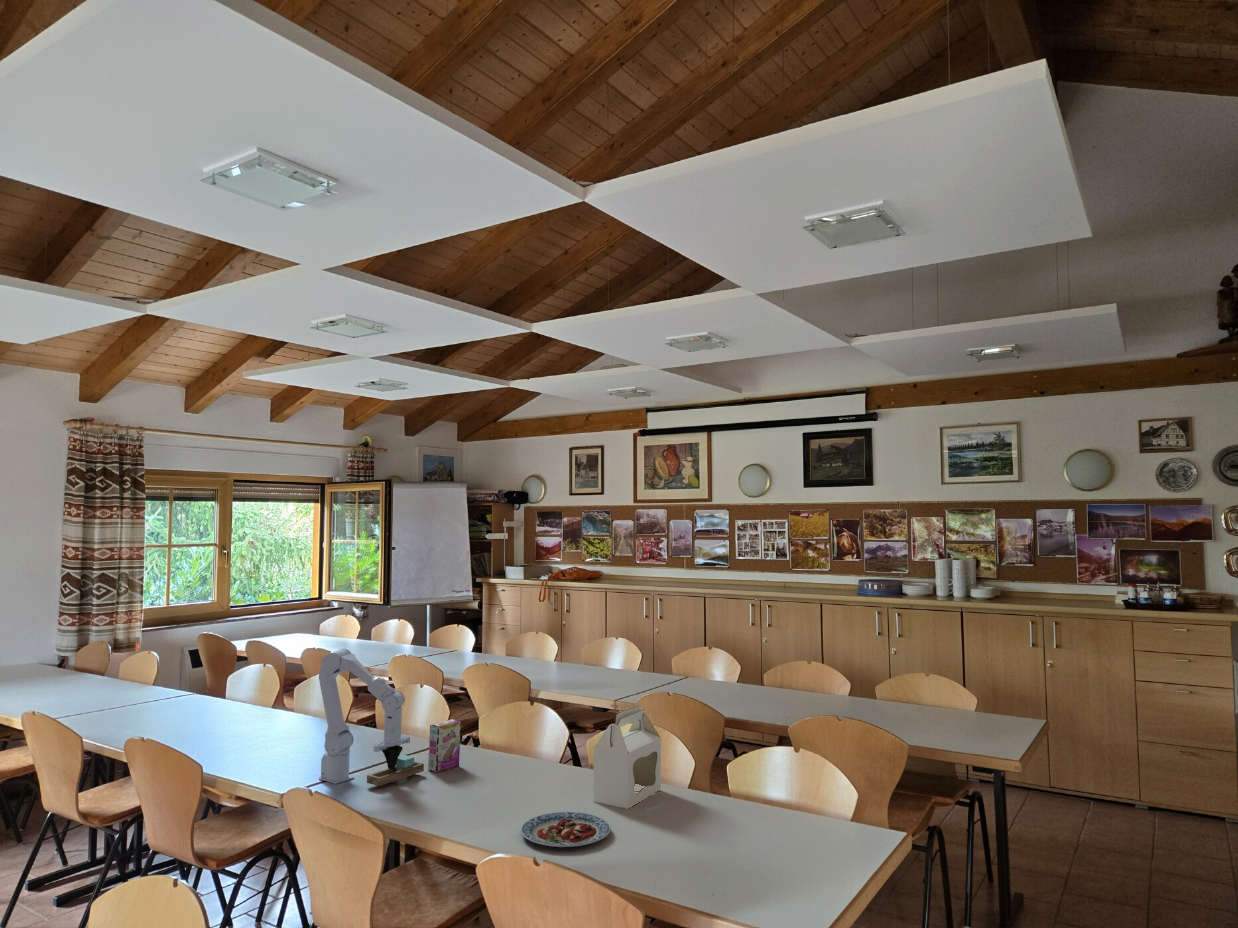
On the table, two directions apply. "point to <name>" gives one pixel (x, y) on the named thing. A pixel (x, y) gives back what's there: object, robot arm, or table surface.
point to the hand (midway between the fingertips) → (391, 768)
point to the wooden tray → (394, 775)
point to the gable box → (627, 761)
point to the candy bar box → (444, 745)
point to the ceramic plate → (565, 829)
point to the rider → (404, 762)
